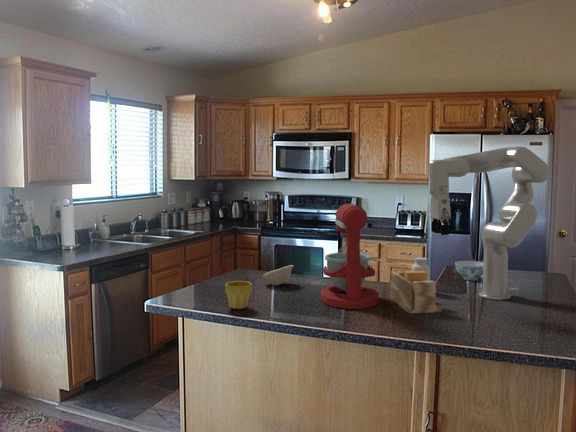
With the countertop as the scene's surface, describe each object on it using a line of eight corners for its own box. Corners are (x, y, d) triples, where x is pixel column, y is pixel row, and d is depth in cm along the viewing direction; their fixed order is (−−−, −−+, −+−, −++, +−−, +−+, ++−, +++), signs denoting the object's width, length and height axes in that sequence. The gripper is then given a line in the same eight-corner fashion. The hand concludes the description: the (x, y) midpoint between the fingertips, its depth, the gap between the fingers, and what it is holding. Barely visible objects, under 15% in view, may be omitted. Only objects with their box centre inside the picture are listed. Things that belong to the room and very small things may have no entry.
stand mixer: (370, 290, 233) (371, 201, 229) (387, 309, 202) (388, 206, 198) (317, 291, 232) (317, 201, 228) (325, 310, 200) (326, 206, 197)
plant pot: (255, 305, 208) (255, 281, 207) (245, 312, 198) (245, 287, 197) (232, 303, 211) (231, 280, 211) (220, 310, 202) (220, 285, 201)
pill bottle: (430, 294, 225) (431, 260, 224) (411, 293, 227) (411, 259, 226) (429, 290, 233) (429, 257, 232) (410, 289, 235) (411, 256, 233)
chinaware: (449, 276, 263) (450, 261, 262) (478, 275, 265) (478, 260, 264) (462, 282, 248) (463, 266, 247) (492, 281, 250) (493, 265, 249)
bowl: (275, 280, 256) (275, 260, 255) (299, 283, 247) (299, 263, 247) (256, 285, 244) (256, 264, 243) (280, 289, 235) (280, 268, 234)
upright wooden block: (423, 295, 210) (423, 270, 209) (426, 297, 207) (426, 272, 206) (404, 296, 209) (404, 271, 208) (406, 298, 206) (407, 273, 205)
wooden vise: (420, 297, 220) (420, 270, 219) (442, 312, 197) (442, 282, 196) (390, 298, 219) (390, 271, 218) (408, 313, 196) (409, 283, 195)
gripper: (457, 191, 200) (458, 235, 202) (439, 189, 217) (440, 230, 219) (438, 192, 199) (439, 236, 201) (422, 190, 217) (423, 231, 218)
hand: (440, 233), depth 210 cm, fingers open, 9 cm apart
